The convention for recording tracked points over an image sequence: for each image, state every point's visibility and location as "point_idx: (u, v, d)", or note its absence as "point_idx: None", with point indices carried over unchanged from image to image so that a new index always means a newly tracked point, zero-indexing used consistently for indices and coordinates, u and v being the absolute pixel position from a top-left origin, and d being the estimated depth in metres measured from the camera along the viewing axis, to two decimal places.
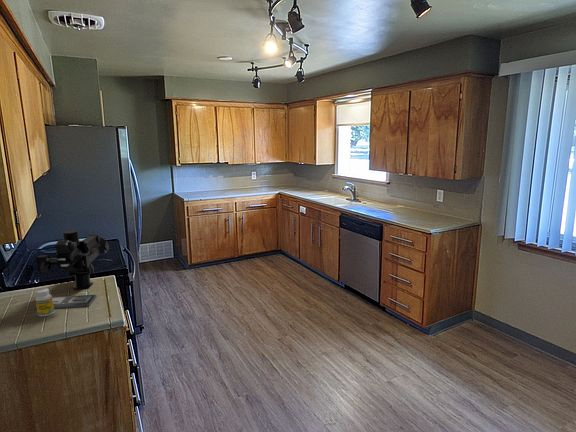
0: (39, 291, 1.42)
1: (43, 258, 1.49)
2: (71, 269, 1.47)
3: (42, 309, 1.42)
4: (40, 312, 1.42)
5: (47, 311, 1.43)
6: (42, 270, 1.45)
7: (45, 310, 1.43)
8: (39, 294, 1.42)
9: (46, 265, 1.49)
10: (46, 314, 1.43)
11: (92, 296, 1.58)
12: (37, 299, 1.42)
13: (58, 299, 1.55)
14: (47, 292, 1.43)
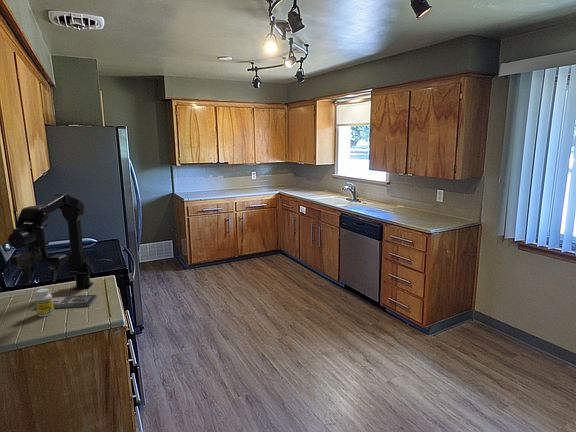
0: (39, 291, 1.42)
1: (18, 267, 1.39)
2: (56, 275, 1.43)
3: (42, 309, 1.42)
4: (40, 312, 1.42)
5: (47, 311, 1.43)
6: (30, 278, 1.43)
7: (45, 310, 1.43)
8: (39, 294, 1.42)
9: (26, 266, 1.42)
10: (46, 314, 1.43)
11: (92, 296, 1.58)
12: (37, 299, 1.42)
13: (58, 299, 1.55)
14: (47, 292, 1.43)
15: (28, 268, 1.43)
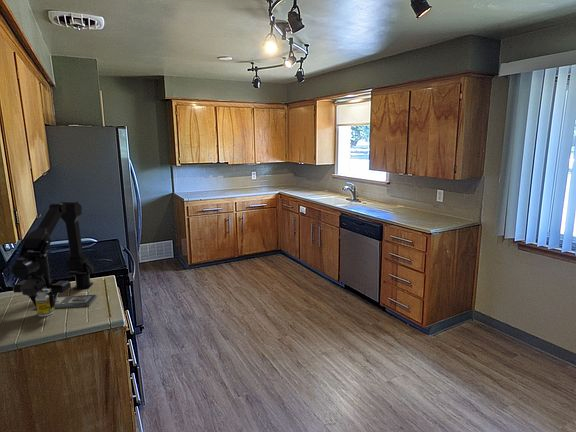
0: (39, 291, 1.42)
1: None
2: (55, 301, 1.45)
3: (42, 309, 1.42)
4: (40, 312, 1.42)
5: (47, 311, 1.43)
6: None
7: (45, 310, 1.43)
8: (39, 294, 1.42)
9: None
10: (46, 314, 1.43)
11: (92, 296, 1.58)
12: (37, 299, 1.42)
13: (58, 299, 1.55)
14: (47, 292, 1.43)
15: (36, 294, 1.45)
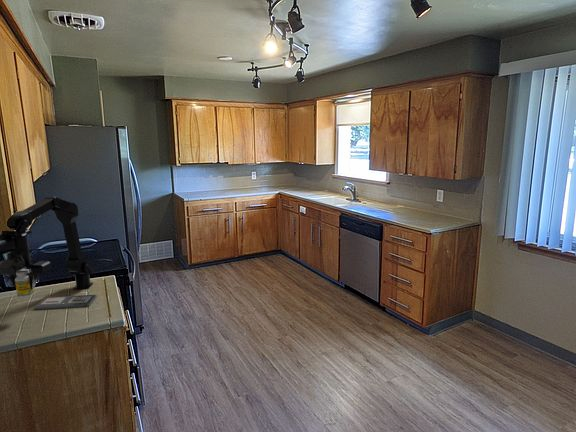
0: (18, 272, 1.38)
1: (5, 274, 1.37)
2: (35, 282, 1.41)
3: (21, 290, 1.38)
4: (20, 293, 1.38)
5: (27, 292, 1.39)
6: None
7: (25, 291, 1.38)
8: (18, 274, 1.37)
9: (14, 273, 1.39)
10: (26, 295, 1.39)
11: (92, 296, 1.58)
12: (16, 280, 1.37)
13: (58, 299, 1.55)
14: None
15: (16, 275, 1.40)
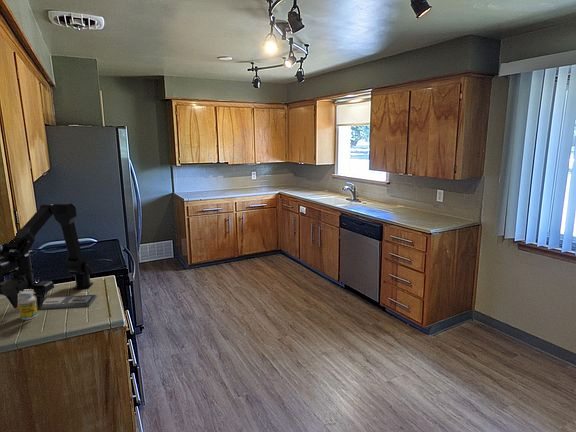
0: (21, 294, 1.39)
1: (4, 294, 1.38)
2: (42, 302, 1.42)
3: (25, 312, 1.40)
4: (23, 316, 1.40)
5: (30, 314, 1.41)
6: (16, 305, 1.42)
7: (28, 313, 1.40)
8: (22, 297, 1.39)
9: None
10: (29, 317, 1.41)
11: (92, 296, 1.58)
12: (20, 302, 1.39)
13: (58, 299, 1.55)
14: (30, 295, 1.41)
15: (14, 295, 1.42)
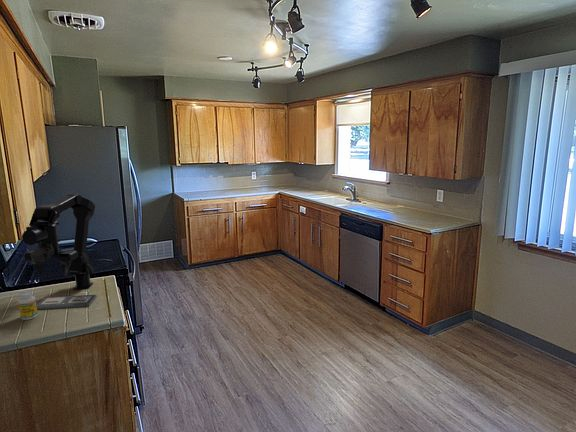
0: (21, 294, 1.39)
1: (32, 262, 1.48)
2: (67, 270, 1.52)
3: (25, 312, 1.40)
4: (23, 316, 1.40)
5: (30, 314, 1.41)
6: (43, 273, 1.52)
7: (28, 313, 1.40)
8: (22, 297, 1.39)
9: (39, 261, 1.51)
10: (29, 317, 1.41)
11: (92, 296, 1.58)
12: (20, 302, 1.39)
13: (58, 299, 1.55)
14: (30, 295, 1.41)
15: (41, 263, 1.52)
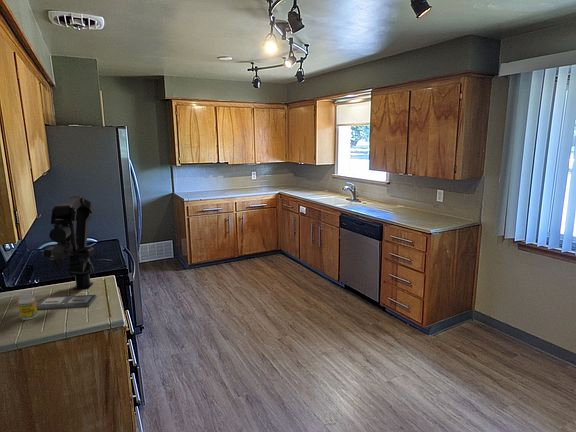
0: (21, 294, 1.39)
1: (51, 258, 1.53)
2: (85, 266, 1.58)
3: (25, 312, 1.40)
4: (23, 316, 1.40)
5: (30, 314, 1.41)
6: (61, 269, 1.57)
7: (28, 313, 1.40)
8: (22, 297, 1.39)
9: (57, 258, 1.56)
10: (29, 317, 1.41)
11: (92, 296, 1.58)
12: (20, 302, 1.39)
13: (58, 299, 1.55)
14: (30, 295, 1.41)
15: (59, 260, 1.57)
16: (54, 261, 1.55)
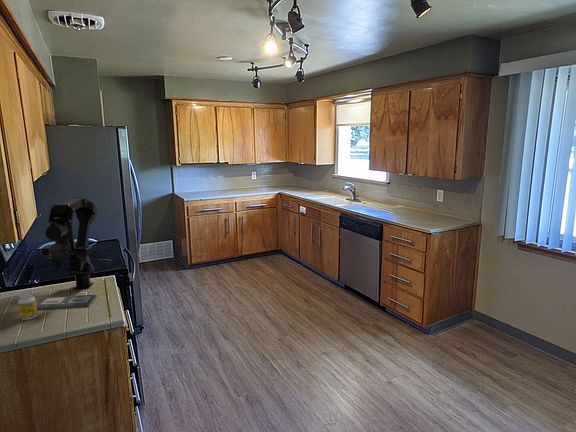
0: (21, 294, 1.39)
1: (49, 257, 1.54)
2: (83, 264, 1.58)
3: (25, 312, 1.40)
4: (23, 316, 1.40)
5: (30, 314, 1.41)
6: (59, 267, 1.58)
7: (28, 313, 1.40)
8: (22, 297, 1.39)
9: (56, 256, 1.57)
10: (29, 317, 1.41)
11: (92, 296, 1.58)
12: (20, 302, 1.39)
13: (58, 299, 1.55)
14: (30, 295, 1.41)
15: (57, 258, 1.58)
16: (52, 259, 1.56)
